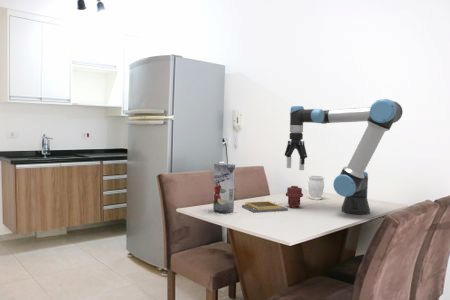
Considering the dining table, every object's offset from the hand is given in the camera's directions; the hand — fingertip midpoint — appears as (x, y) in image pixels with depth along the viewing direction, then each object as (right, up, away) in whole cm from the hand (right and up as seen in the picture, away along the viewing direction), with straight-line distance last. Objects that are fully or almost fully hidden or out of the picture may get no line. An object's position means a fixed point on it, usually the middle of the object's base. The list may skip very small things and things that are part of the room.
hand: (295, 169), depth 217 cm
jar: (+20, -22, +33) cm, 44 cm away
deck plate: (-19, -22, -6) cm, 30 cm away
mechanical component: (-1, -23, +1) cm, 23 cm away
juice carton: (-42, -22, -17) cm, 50 cm away
